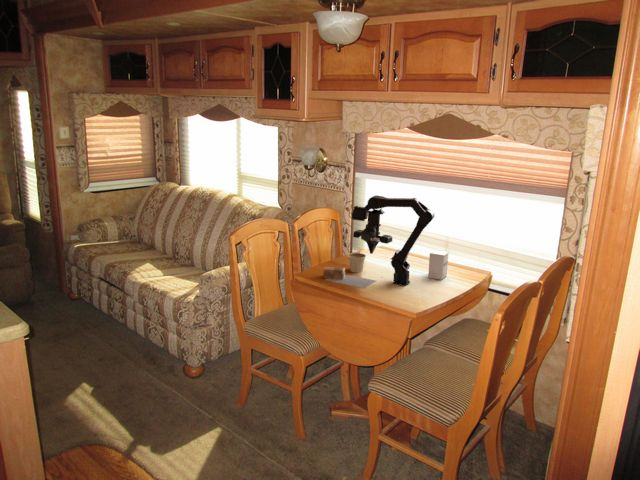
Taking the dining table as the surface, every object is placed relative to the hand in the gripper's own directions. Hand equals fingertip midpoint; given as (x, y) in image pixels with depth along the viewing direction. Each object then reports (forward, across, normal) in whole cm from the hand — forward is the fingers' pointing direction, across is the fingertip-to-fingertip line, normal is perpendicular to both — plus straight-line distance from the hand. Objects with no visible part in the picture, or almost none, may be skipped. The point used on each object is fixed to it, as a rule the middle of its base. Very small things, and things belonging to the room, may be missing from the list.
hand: (371, 253), depth 251 cm
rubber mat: (+13, -6, -8) cm, 17 cm away
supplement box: (+12, +26, +23) cm, 37 cm away
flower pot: (+14, -12, +7) cm, 19 cm away
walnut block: (+11, -10, -7) cm, 17 cm away
